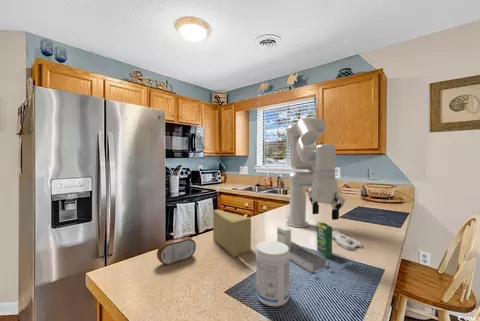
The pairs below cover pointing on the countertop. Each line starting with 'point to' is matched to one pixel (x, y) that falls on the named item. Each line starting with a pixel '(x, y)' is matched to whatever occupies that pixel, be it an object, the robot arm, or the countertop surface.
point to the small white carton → (284, 236)
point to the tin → (176, 250)
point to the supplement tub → (272, 273)
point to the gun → (345, 241)
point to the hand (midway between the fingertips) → (325, 216)
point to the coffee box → (324, 239)
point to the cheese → (232, 232)
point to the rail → (306, 258)
